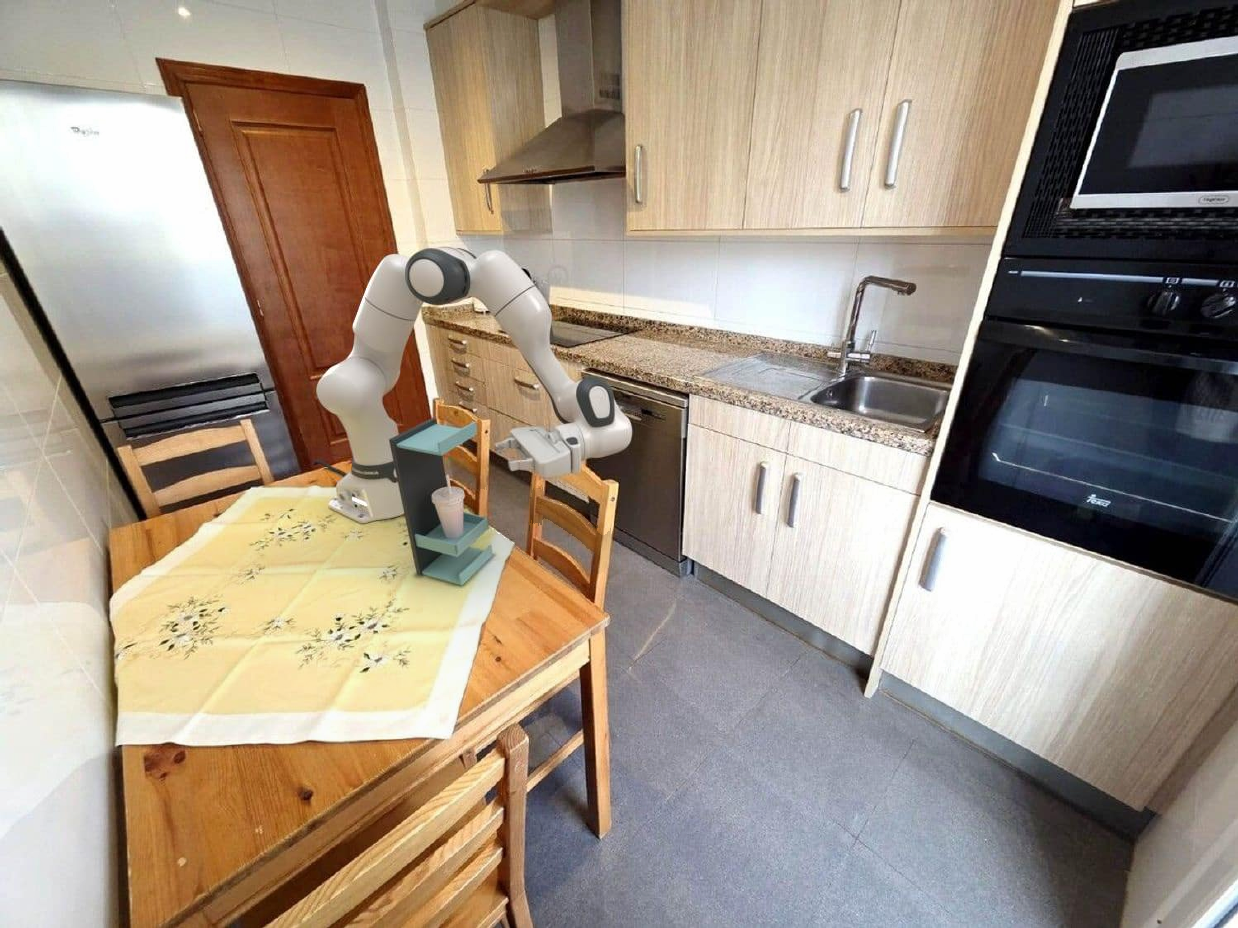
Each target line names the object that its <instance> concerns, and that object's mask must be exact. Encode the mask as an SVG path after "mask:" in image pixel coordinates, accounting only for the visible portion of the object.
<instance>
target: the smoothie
mask: <svg viewBox="0 0 1238 928" xmlns="http://www.w3.org/2000/svg"><path fill="white" fill-rule="evenodd" d="M445 476H446V482H447V487H444V488H440V489H438V490H436V491H435V492H434V493H433V494H432V496H431V497H432V502H433V503H434V504H435V507H436V510H437V513H438V516H439V519H440V522H441V525H442V528H443V531H444V534H445V537H446V538H449V539H455V538H459V537H460V536H462V535H463V512H464V499H465V497H466V495H465V490H464V489H463V488H461V487H459V486H451V479H450V475H449V474H448V473H445Z"/></svg>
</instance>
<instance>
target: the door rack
mask: <svg viewBox="0 0 1238 928" xmlns="http://www.w3.org/2000/svg"><path fill="white" fill-rule="evenodd" d="M476 435H478V426H477V421H472V422H471V423H469V424H467V425H465V426H464V427H462V428H461V427H455V426H450V425H443V424H439V423H438V420H437V418H436V417H431V418H429V419H427V420H425V421H422V422H421V423H419V424H417V425H415V426H413V427H411V428H408V429H407V430H405V431H403V432H401V433H399V435H397V436H395V437H393V438H391V439H389V442H390V447H391V452H392V457H393V462H394V466H395V471H396V476H397V481H398V486H399V490H400V495H401V500H402V505H403V510H404V514H403V515H404V519H405V524H406V529H407V534H408V539H409V544H410V548H411V552H412V557H413V562H414V567H415V572H416V575H417V576H423V575H424V576H427V577H430V578H434V579H436V580H440V581H444V582H447V583H452V584H454V585H458V586H461V587H462V586H464V585H465V584H466V583H467V582H468V581H469V580H470V579H471V578H472V577H473V576H474V575H475V574H476V572H478V571H479V570H480V569H481V568H482V567H483V566H484V565H485V564H486V563H487V562H488V561H489V560H490V559H491V558H492V557H493V547H492V544H489V545H488V546H487V547H486V548H485V549H484V550H482V549H480V548H475V547H471V546H472V545H473V544H474V543H475V542H476V541H477V540H478V539H479V538H481V536H483V535H484V534H485V533H486V532H487V531H488V530H489V529H490V523H489V517H487V516H482V515H479V514H475V513H469V512H466V511H463V535H462V536H460V537H459V538H455V539H449V538H446V537H445V534H444V531H443V528H442V525H441V522H440V519H439V516H438V513H437V510H436V507H435V504H434V503H433V502H432V497H431V496H432V494H433V493H434V492H435V491H436V490H438V489H440V488H444V487H448V486H447V479H446V469H445V464H444V463H445V462H444V459H443V458H444V456H443V455H445V454H447V453H448V452H450V451H452V450H453V449H455V448H456V447H458V446H460V445H462V444H464V443H465V442H467V441H468V440H470V439H472V438H473V437H475V436H476Z"/></svg>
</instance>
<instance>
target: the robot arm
mask: <svg viewBox="0 0 1238 928" xmlns="http://www.w3.org/2000/svg"><path fill="white" fill-rule="evenodd" d="M471 298H475V299H477V300H478V301H479V302H480V303H482V304H483V305H484V307H485V308H486V309H487V310H488V312H489V313H490V314H491V315H492V317H493V318H494V319H495V321H496V322H497V323H498V325H499V326H500V327H501V328H502V330H503V331H504V332H505V333H506V336H508V337H509V338H510V340H511V341H512V342H513V344H514V345H515V347H516V348H517V350H518V351H519V353H520V354H521V356H522V358H523V359H524V361H525V362H526V364H527V365H528V367H529V368H530V370H531V371H532V372H533V374H534V376H535V377H536V378H537V380H538V381H539V382H540V384H541V386H542V387H543V389H544V390H545V391H546V393H547V395H548V397H549V400H550V403H551V405H552V409H553V412H554V414H555V416H556V418H557V419H558V420H559V421H560V422H561V423H562V424H558V425H557V424H556V425H553V426H551V428H550V430H549V429H545V428H544V427H543V426H541V425H530V426H520V427H514V428H512V429H510V430H509V437H508V438H505V439H504V440H503V441H500V442H495V443H494V450H495V451H496V453H498V454H501V453H505V452H506V450H513V449H515V450H516V451H517V453H518V454H519V455H520V456H521V457H522V458H523V459H517V458H514V459H510V460H508V461H507V465H508V466H507V467H508V468H509V470H510V471H511V472H515V471H518V470H519V471H529V472H530V471H534V472H535V473H536V475H537V476H538V477H539V478H541V479H553V478H558V477H562V476H566V475H569V474H572V475H576V474H581V472H582V462H583V461H586V460H588V459H592V458H593V459H598V458H603V457H607V456H608V457H609V456H611V455H612V456H613V455H614V454H617V453H620V452H622V451H624V450H626V449H627V447H629V445H630V443H631V442H632V438H633V427H632V423H631V420H630V419H629V418H628V416H626V414H624V413H623V411H622V410H621V409H620V407H619V405H618V404H617V401H616V400H615V396H614V391H613V389H612V387H611V385H610V384H609V383H608V382H607V381H606V380H605V379H603V378H601V377H599V376H595V375H591V376H586V377H584V378H582V379H580V380H578V381H576V382H575V381H574V380H572V379H571V378H570V377H569V375H568V374H567V372H566V370H565V369H564V368H563V366H562V365H561V363H560V362H559V360H558V358H557V357H556V355H555V354H554V351H553V349H552V347H551V342H550V340H551V339H550V337H551V336H550V335H551V328H552V323H553V316H552V311H551V308H550V307H549V305H548V302H547V300H546V299H545V297H544V295H543V294H542V292H540V290H539V288H538V287H537V286H536V285H535V283H534V282H533V280H531V278H530V277H529V276H528V275H527V273H526V272H525V270H523V269H522V268H521V267H520V266H519V265H518V264H517V263H516V262H515V261H514V260H513V258H511V256H509V255H508V253H506V252H504V251H502V250H499V249H491V250H487V251H485V252H483V253H480V255H478V256H476V255H475V254H473V253H472V252H471V251H469V250H466V249H465V248H461V247H452V246H439V247H433V248H432V247H429V248H424V249H421V250H418V251H416V252H415V253H414V254H413V255H412V256H410V257H409V256H407V255H404V254H400V253H392V254H388V255H386V256H384V257H383V258H382V259H381V261H380V262H379V264H378V265H377V268H375V270H374V272H373V274H372V276H371V277H370V279H369V281H368V284H367V286H366V289H365V291H364V293H363V297H362V299H361V302H360V305H359V307H358V311H357V313H356V316H355V318H354V320H353V323H352V331H353V333H354V340H353V346H352V350H351V352H350V353H349V355H348V356H347V357H346V358H345V359H344V360H343V361H340V362H339V363H337V364H335V365H333V366H331V367H330V368H328V370H326V371H325V373H324V374H323V375H322V376H321V378H320V379H319V380H318V383H317V385H316V396H317V399H318V401H319V403H320V404H321V406H323V408H325V410H327V411H328V412H330V413H331V414H334V415H335V416H336V417H337V418H338V420H339V421H340V424H342V426H343V428H344V430H345V433H346V436H347V439H348V443H349V447H350V451H351V454H352V457H351V458H350V459H348V460H346V461H345V462H346V466H349V465H351V468H350V471H349V472H348V473H346V472H345V471H343V470H341V469H339V468H337V467H334V466H332V465H330V464H328V463H327V462H325V461H323V460H316V461H314V462H313V466H317V465H318V464H319V465H322V466H324V467H325V468H327V469H329V470H330V471H333V472H334V473H335V472H336V473H338V474H339V475H342V476H343V477H342V478H341V479H340V480H338V482H337V483H336V485H335V493H336V495H335V496H334V497H333V498H332V499H330V501H329V502H328V504H327V505H328V508H329V509H330V510H333V512H334V511H335V512H336V513H338V514H340V515H343V516H345V517H347V518H349V519H351V520H352V521H355V522H357V523H359V524H367V523H372V522H374V521H381V520H389V519H393V518H396V517H400V516H403V515H405V514H404V510H403V505H402V500H401V495H400V490H399V486H398V481H397V476H396V471H395V466H394V462H393V457H392V452H391V447H390V442H389V439H391V438H393V437H395V436H397V435H399V434H400V433H399V428H398V424H397V423H396V421H395V420H394V419H392V418H391V417H389V415H388V413H387V410H386V409H385V407H384V404H383V399H384V398H383V397H384V396H385V395H387V394H388V393H389V392H391V391H392V390H393V388H394V387H395V386H396V384H397V382H398V380H399V378H400V375H401V365H402V360H403V357H404V356H403V355H404V352H405V348H406V345H407V343H408V340H409V338H410V335H411V333H412V331H413V328H414V326H415V323H416V321H417V318H418V316H419V314H420V311H421V309H422V307H423V305H424V304H428V305H433V306H445V305H451V304H458V303H460V302H462V301H464V300H467V299H471Z"/></svg>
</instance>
